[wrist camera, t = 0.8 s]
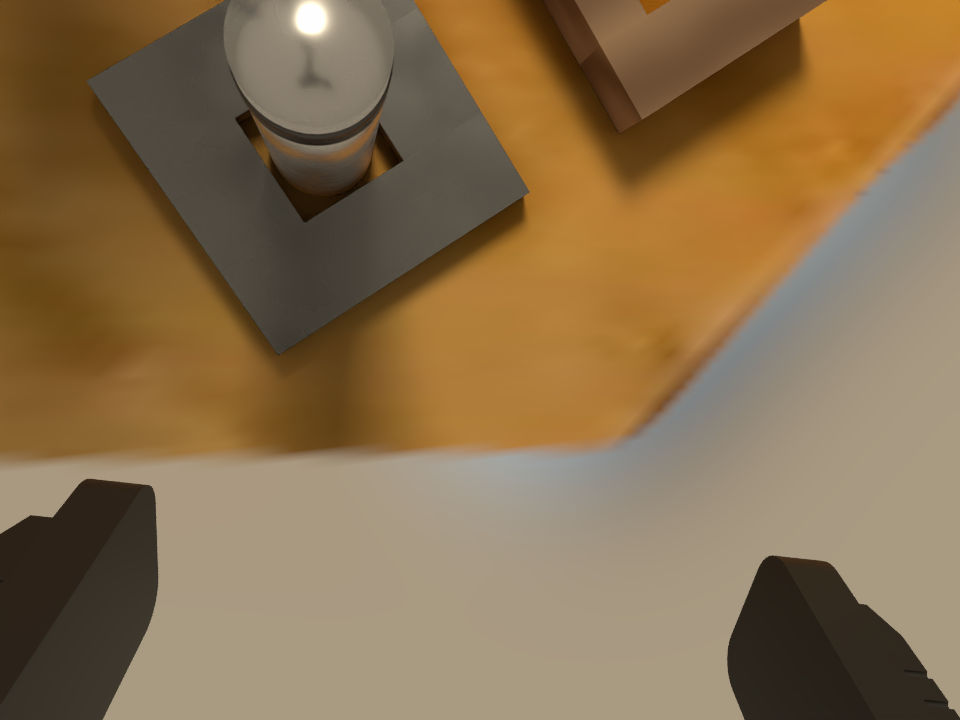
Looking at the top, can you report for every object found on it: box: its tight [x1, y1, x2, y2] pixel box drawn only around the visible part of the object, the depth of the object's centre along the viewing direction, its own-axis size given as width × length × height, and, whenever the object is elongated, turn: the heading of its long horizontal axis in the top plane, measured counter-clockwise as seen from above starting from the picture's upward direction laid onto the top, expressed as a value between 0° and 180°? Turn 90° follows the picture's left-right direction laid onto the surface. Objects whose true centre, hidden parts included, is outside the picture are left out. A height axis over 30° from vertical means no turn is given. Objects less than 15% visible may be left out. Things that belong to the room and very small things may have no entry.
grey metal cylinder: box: [224, 0, 394, 196], centre depth 24 cm, size 4×4×12 cm
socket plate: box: [87, 0, 529, 355], centre depth 29 cm, size 12×12×1 cm
